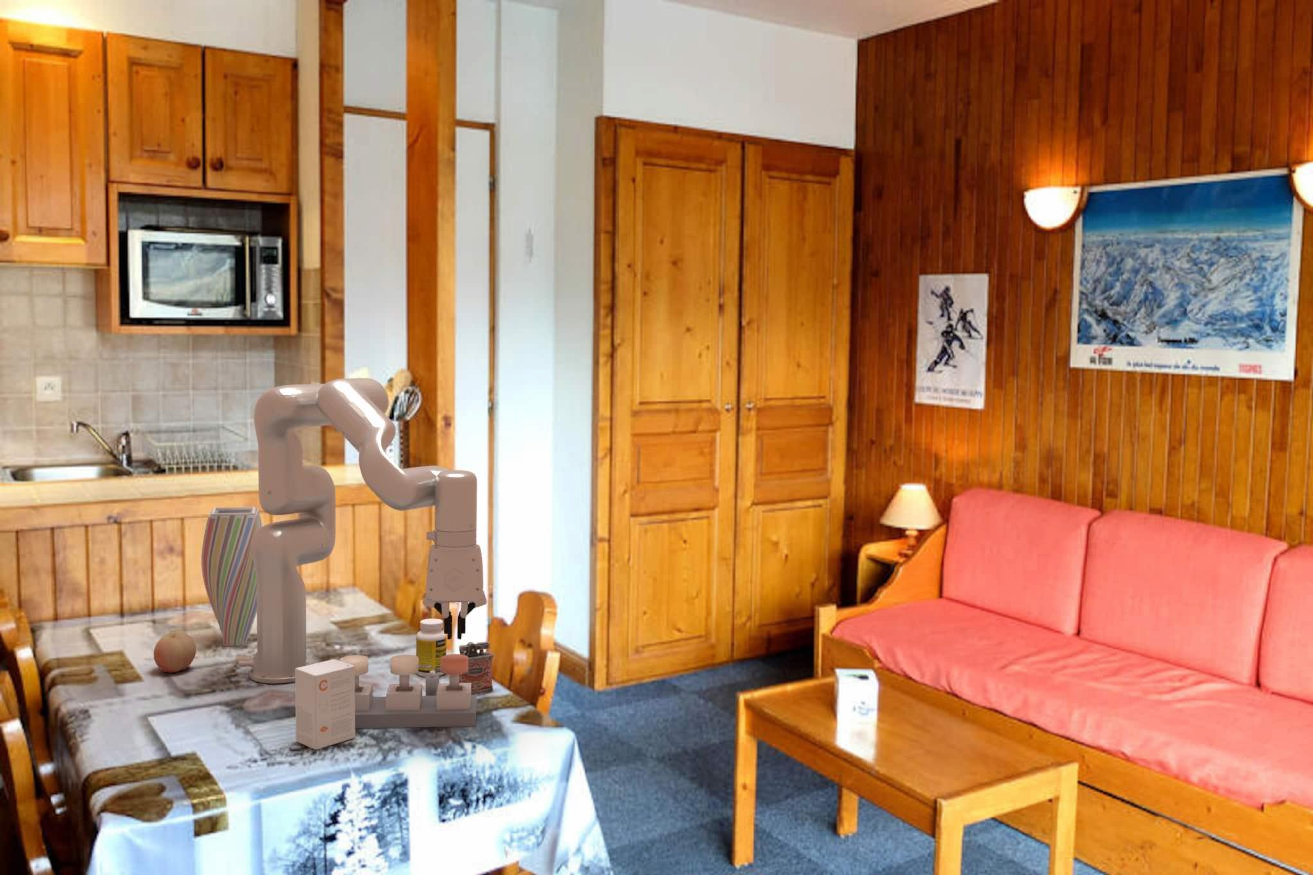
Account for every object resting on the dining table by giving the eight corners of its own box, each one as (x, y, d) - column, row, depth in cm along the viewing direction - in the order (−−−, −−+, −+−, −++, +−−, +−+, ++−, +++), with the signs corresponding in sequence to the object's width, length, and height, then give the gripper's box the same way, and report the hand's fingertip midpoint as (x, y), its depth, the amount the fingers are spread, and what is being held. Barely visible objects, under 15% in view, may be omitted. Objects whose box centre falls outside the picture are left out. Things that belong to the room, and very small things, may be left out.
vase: (267, 633, 264) (266, 505, 262) (266, 648, 252) (265, 514, 249) (204, 636, 260) (203, 506, 257) (200, 652, 247) (199, 516, 244)
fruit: (147, 670, 234) (146, 632, 233) (185, 662, 240) (185, 625, 239) (164, 679, 229) (163, 640, 228) (203, 671, 234) (202, 633, 234)
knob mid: (389, 691, 206) (389, 662, 205) (391, 683, 211) (392, 654, 210) (417, 691, 207) (417, 662, 206) (419, 682, 212) (419, 654, 211)
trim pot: (424, 705, 217) (425, 673, 216) (425, 700, 219) (426, 669, 219) (438, 704, 217) (439, 673, 217) (439, 700, 220) (439, 669, 219)
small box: (334, 729, 203) (334, 657, 201) (356, 738, 198) (356, 665, 197) (294, 741, 196) (294, 667, 195) (315, 750, 192) (315, 675, 191)
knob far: (439, 690, 207) (439, 661, 207) (441, 682, 212) (441, 654, 212) (467, 690, 208) (467, 661, 207) (468, 682, 213) (468, 653, 212)
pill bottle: (439, 678, 233) (439, 626, 232) (411, 676, 234) (411, 623, 233) (450, 670, 239) (451, 618, 238) (423, 667, 240) (423, 616, 239)
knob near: (337, 692, 205) (337, 663, 204) (341, 683, 210) (341, 655, 209) (366, 692, 205) (366, 662, 205) (369, 683, 210) (369, 654, 210)
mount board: (327, 728, 203) (327, 698, 202) (335, 710, 213) (335, 681, 212) (475, 726, 206) (475, 696, 206) (476, 707, 216) (476, 679, 215)
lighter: (455, 697, 222) (456, 647, 221) (450, 692, 225) (451, 642, 224) (495, 692, 226) (495, 642, 225) (489, 687, 228) (490, 638, 228)
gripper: (410, 542, 203) (409, 643, 204) (498, 542, 205) (496, 642, 206) (414, 534, 210) (413, 632, 212) (498, 535, 212) (497, 631, 214)
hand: (454, 637), depth 209 cm, fingers closed
